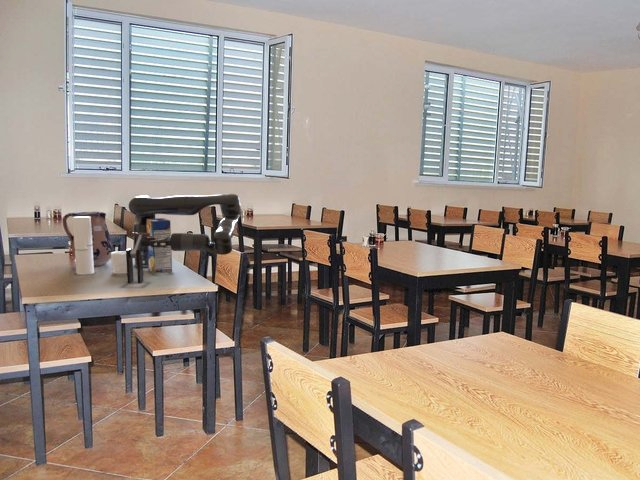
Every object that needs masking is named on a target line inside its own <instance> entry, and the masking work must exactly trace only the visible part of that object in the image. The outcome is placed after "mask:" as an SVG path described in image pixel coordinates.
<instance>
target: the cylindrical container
mask: <svg viewBox="0 0 640 480" xmlns="http://www.w3.org/2000/svg"><path fill="white" fill-rule="evenodd" d="M72 229H73V236H74V245H75V258H74V259H75V273H76V274H75V275H80V276H82V275H83V276H85V275H86V276H87V275H93V274H95V266H94V262H93V245H92V229H91V217H89V216H78V217H72Z"/></svg>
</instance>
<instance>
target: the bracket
mask: <svg viewBox="0 0 640 480" xmlns="http://www.w3.org/2000/svg"><path fill="white" fill-rule="evenodd" d="M132 249H133V248H127V249H126V250H125V251H126V262H127V273H126V278H127V284H131V283H133V282H134V279H135V278H134V263H133V258H131V256H130V252H131V250H132ZM136 257H137V267H136V275H137V283H138V284H141V283H143V282H144V279H145V278H144V267H143V259H142V249H138V250H136Z"/></svg>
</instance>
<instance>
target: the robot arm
mask: <svg viewBox="0 0 640 480" xmlns="http://www.w3.org/2000/svg"><path fill="white" fill-rule="evenodd" d="M215 205H219V208H220V213H221V215H222V219H221V220H220V221H219V223H218V226H217V229H216V230H215V231H214V234H213V235H214V236H213V241H214V242H213V241H211V238H210V237H209V235H208V234H207V233H191V232H190V233H188V232H187V233H185V232H184V233H183V232H173V233H171V237H160V238H159V237H158V238H147V237H142V239H141V242H140V245H139V247H138V249H142V259H143V268H149V265H148V246H151V247H167V246H171V250H172V252H193V251H202V252H203V251H204V252H209V253H212V254H216V255H221V256H225V255H229V254H230V253H232V251H233V240H232V239H233V237H234V234H235V229H236V225H237V223H238V221H239V219H240V217H241V215H242V206H241V200H240V197H239V195H238V194H236V193H220V194H210V195H209V194H208V195H172V196H166V197H165V196H164V197H151V196H149V195H137V196H135V197H133V198H131V199H130V201H129V202H128V209H129V212H130V213H132V214H133V215H135V221H134V223H133V224H132V230H133V231H132V233H147V222H146V219H156V215H167V216H195V215H197V214H199V213H201V211H203V210H204V209H207V208H208V207H211V206H215ZM137 240H138V237H136V236H133V249H134V248H135V245H136V243H137ZM154 243H156V244H155V245H154ZM134 267H136V268H137V258H134Z"/></svg>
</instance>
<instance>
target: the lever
mask: <svg viewBox="0 0 640 480" xmlns="http://www.w3.org/2000/svg"><path fill="white" fill-rule="evenodd" d="M131 236H132V237H134V236H136V237H138V240H137V243H136V245H135V248H134V247H133V248H131V249H132V250H131V252H130V256H131V258H132V259H135V258H137V257H136V250H138V247H139V245H140V242H141V239H142V237H150V233H133V232H132V233H131Z"/></svg>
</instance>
